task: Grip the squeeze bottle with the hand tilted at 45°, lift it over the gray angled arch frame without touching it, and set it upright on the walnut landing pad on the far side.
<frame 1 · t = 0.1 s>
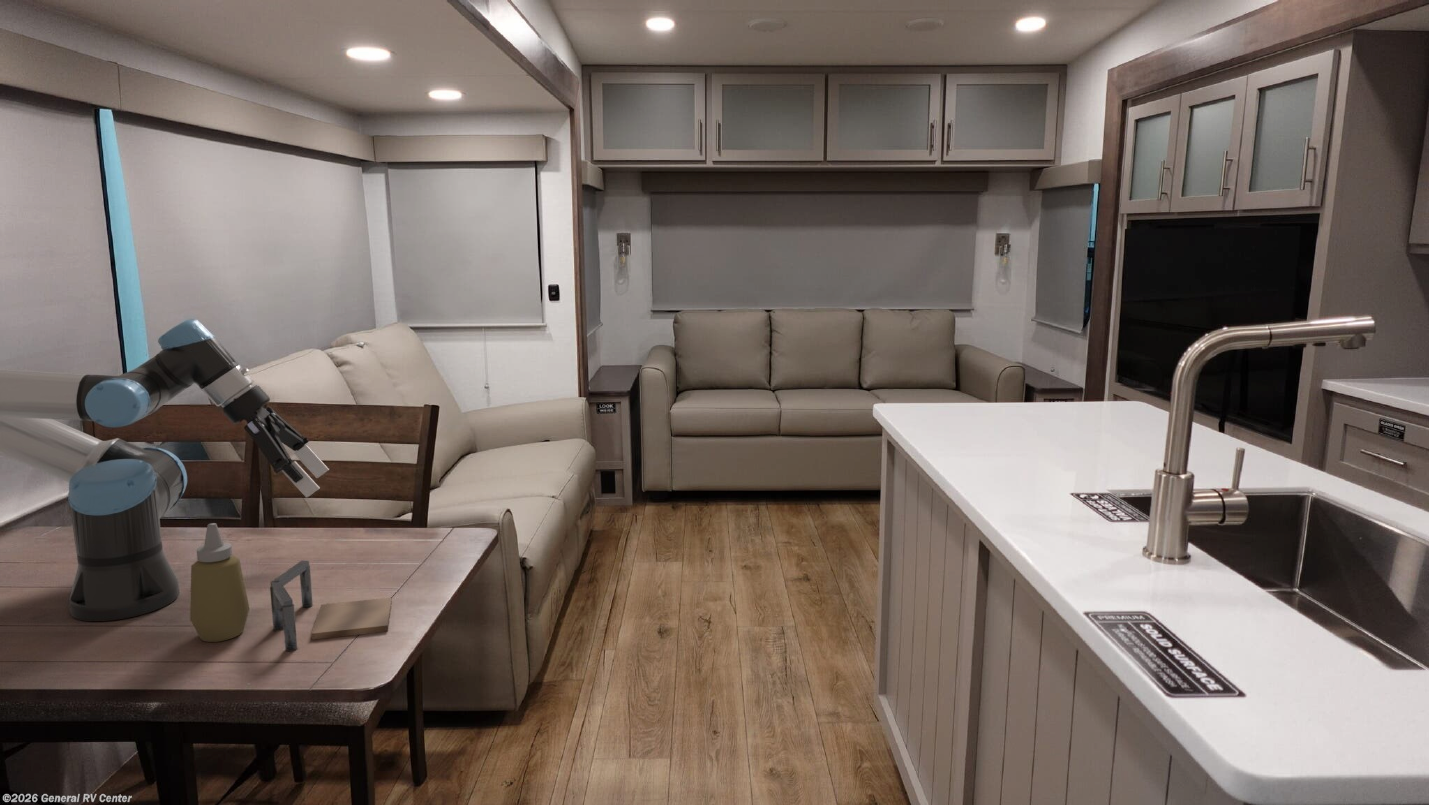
hand: (318, 483, 159), 15 cm above the table, tool tilted 35°, fingers open, 13 cm apart
landing pad: (353, 620, 136), on the table
squeeze bottle: (222, 635, 131), on the table
gray angled arch frame: (286, 627, 133), on the table
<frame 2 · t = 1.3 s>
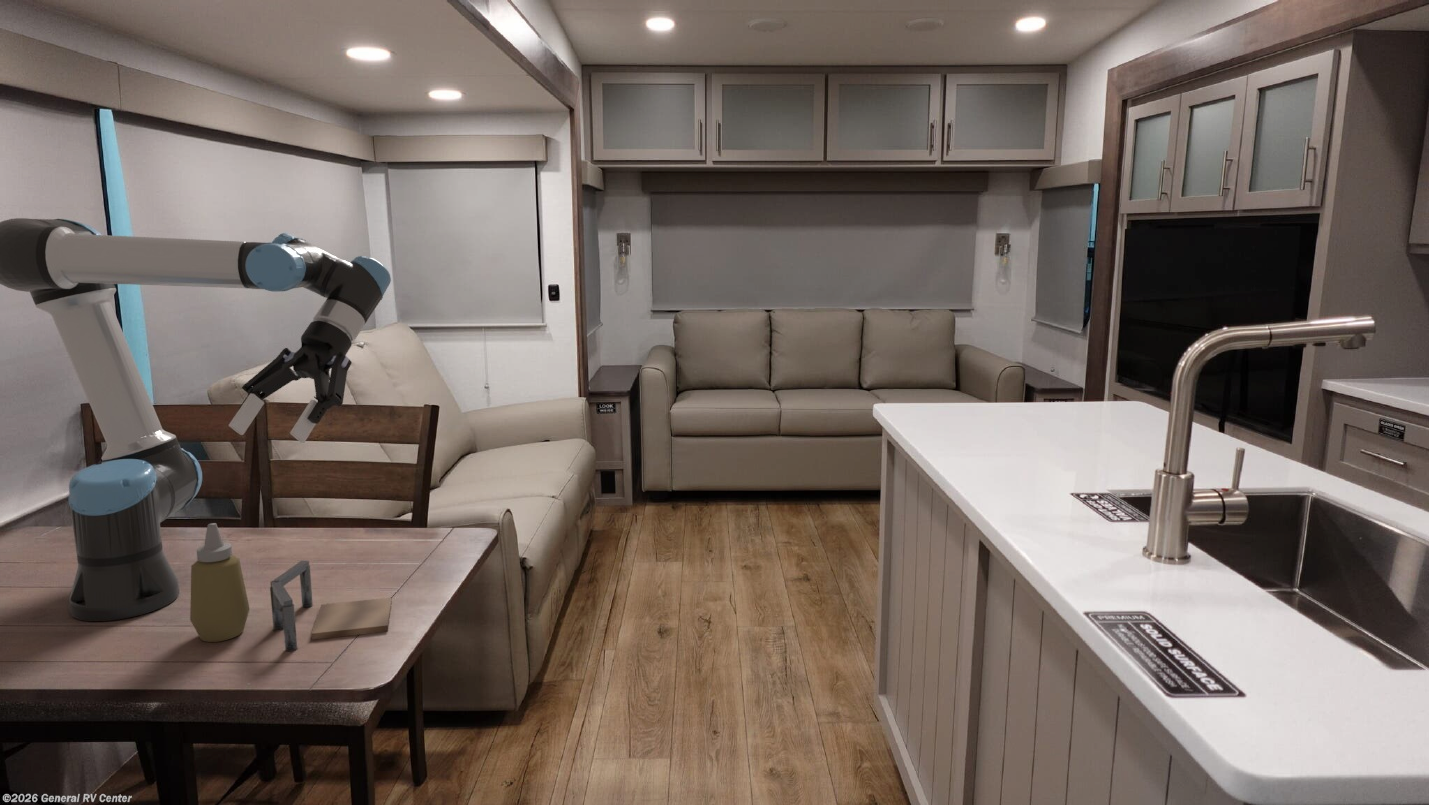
hand: (265, 434, 135), 30 cm above the table, tool tilted 45°, fingers open, 13 cm apart
nothing on the table moved.
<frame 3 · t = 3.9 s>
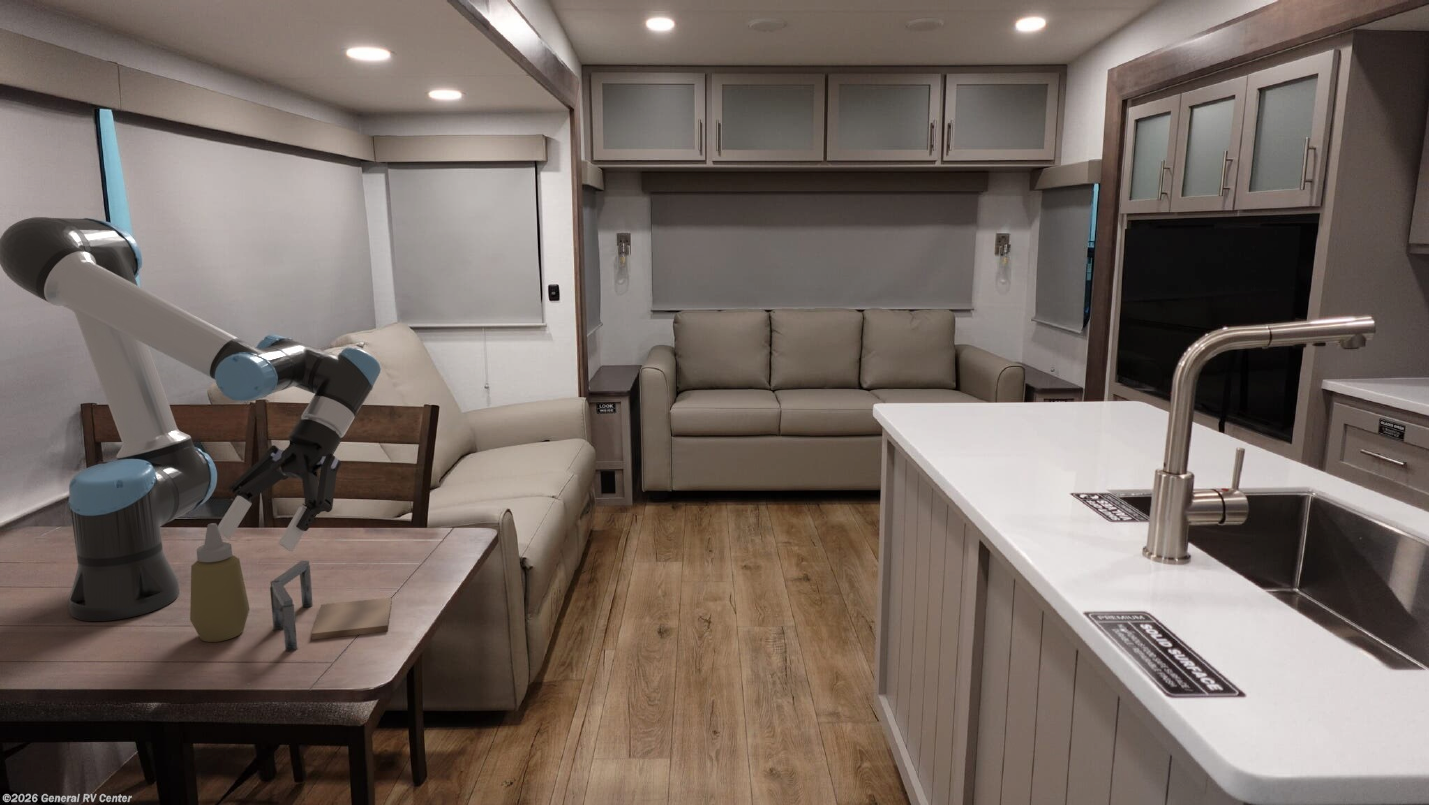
hand: (253, 541, 132), 14 cm above the table, tool tilted 45°, fingers open, 13 cm apart
nothing on the table moved.
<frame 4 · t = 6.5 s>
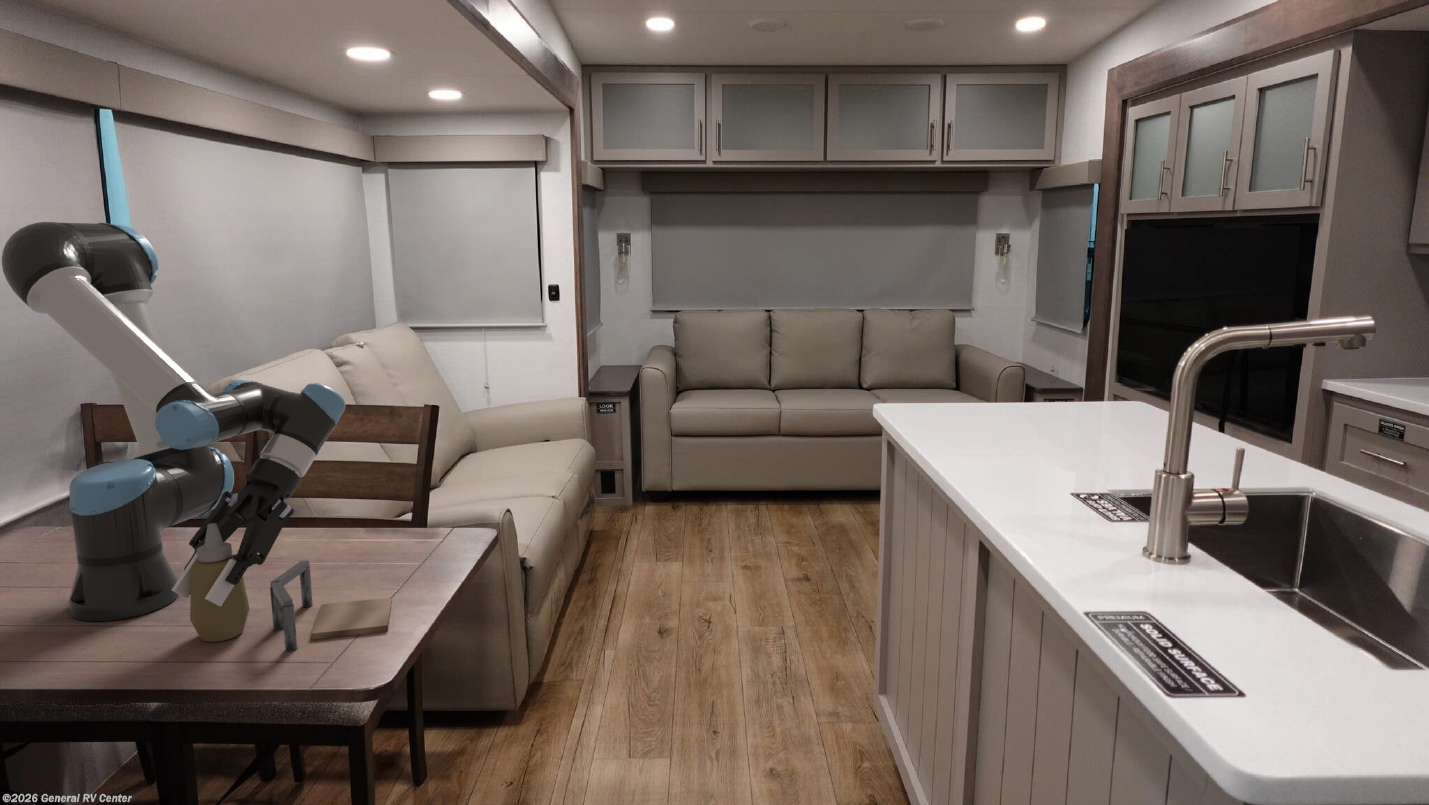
hand: (196, 598, 126), 7 cm above the table, tool tilted 45°, fingers closed on squeeze bottle, 6 cm apart
squeeze bottle: (222, 635, 131), on the table, touching gripper
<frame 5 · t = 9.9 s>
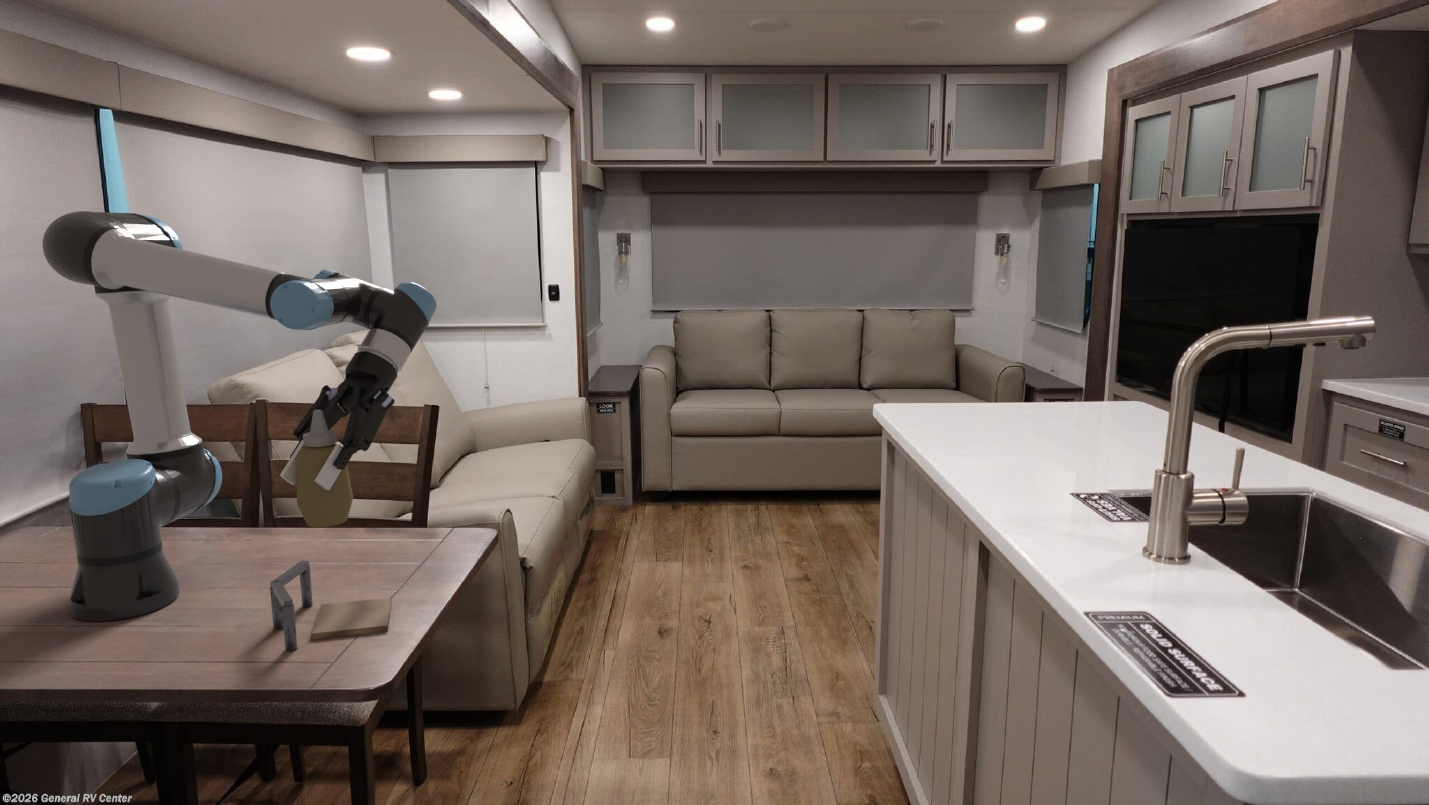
hand: (304, 482, 127), 25 cm above the table, tool tilted 45°, fingers closed on squeeze bottle, 6 cm apart
squeeze bottle: (327, 523, 132), point 17 cm above the table, touching gripper
when the fingers open (10 cm above the table, at t = 13.6 s): squeeze bottle drops 1 cm, resting on landing pad.
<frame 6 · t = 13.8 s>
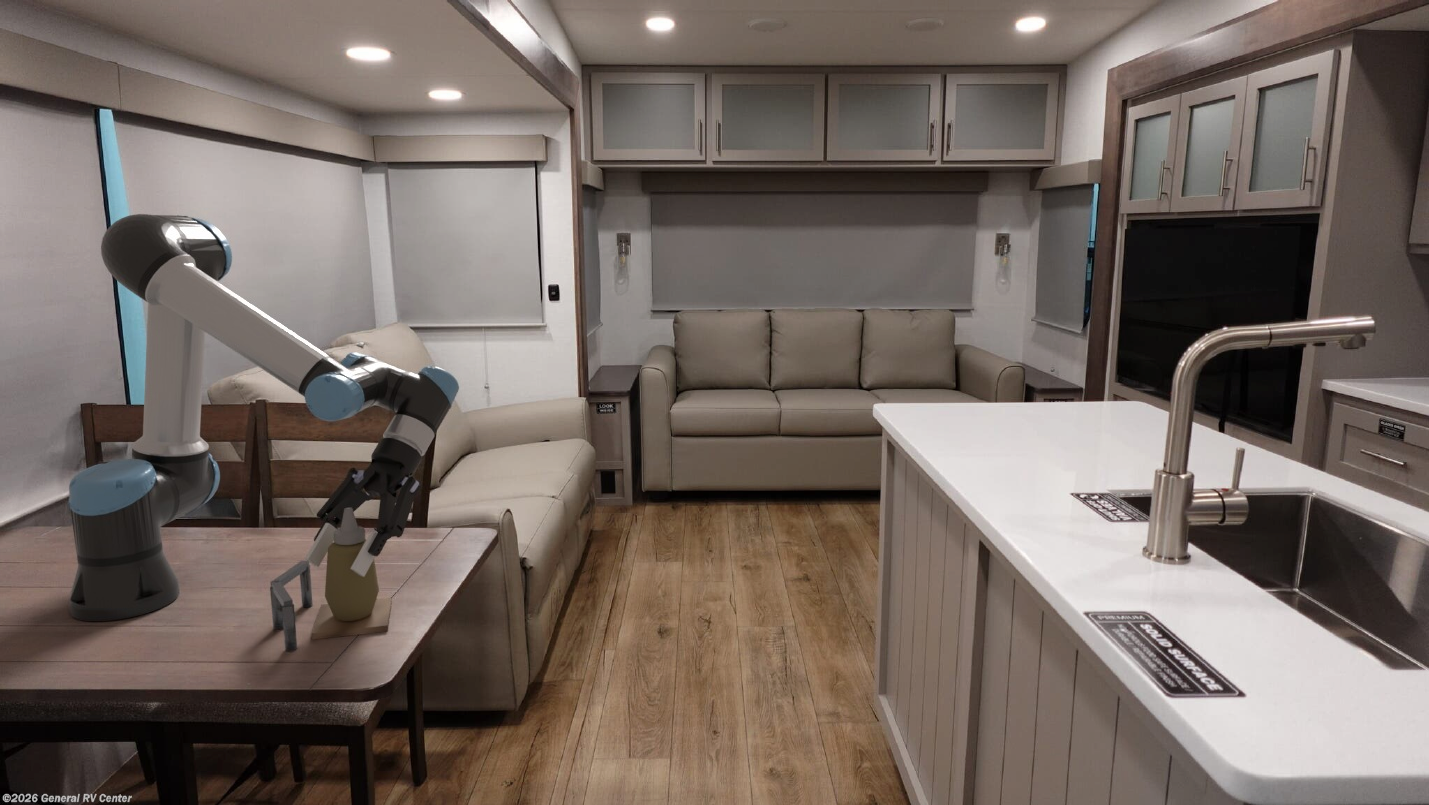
hand: (334, 567, 132), 10 cm above the table, tool tilted 45°, fingers open, 9 cm apart
squeeze bottle: (353, 615, 136), point 1 cm above the table, touching landing pad
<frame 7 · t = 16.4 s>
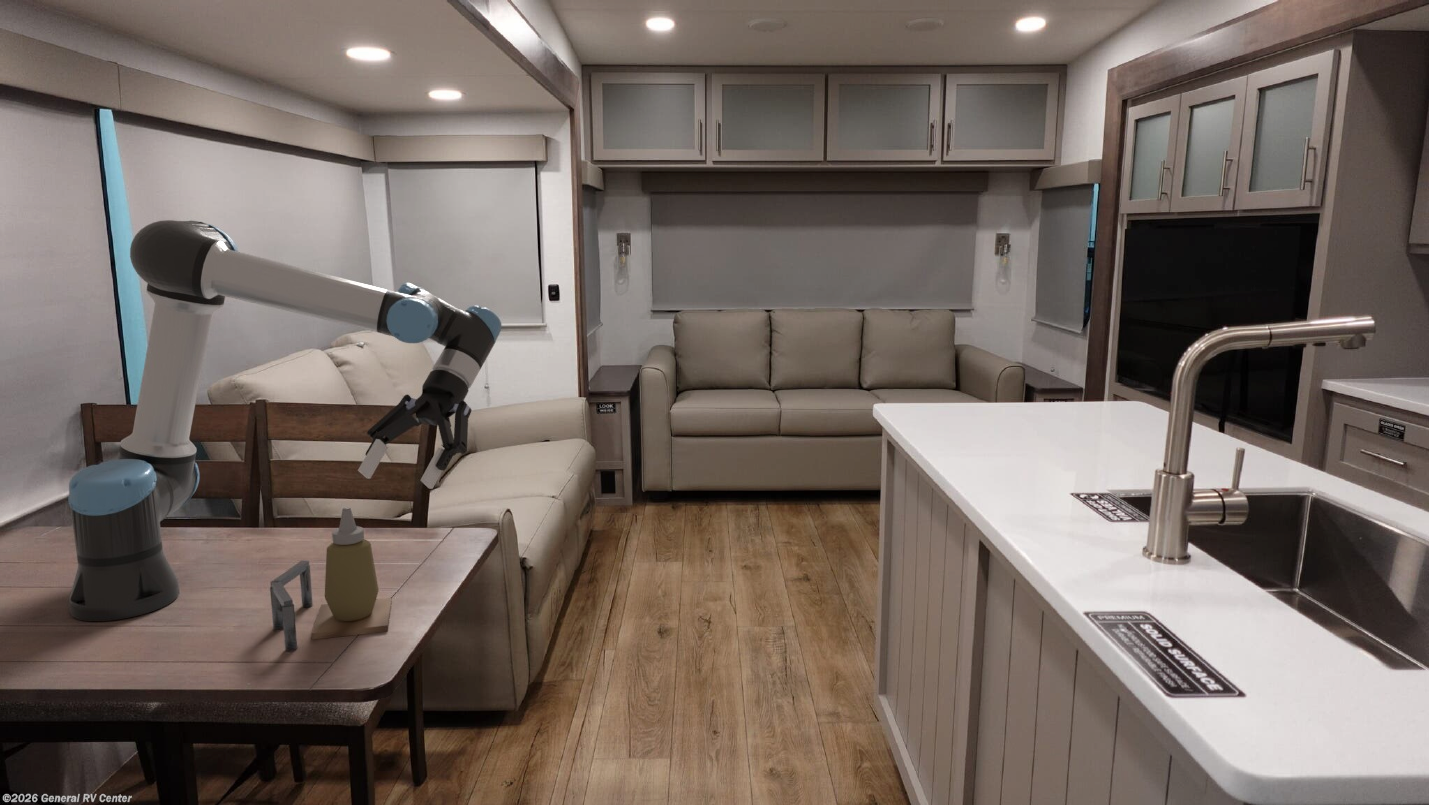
hand: (394, 479, 142), 21 cm above the table, tool tilted 45°, fingers open, 13 cm apart
nothing on the table moved.
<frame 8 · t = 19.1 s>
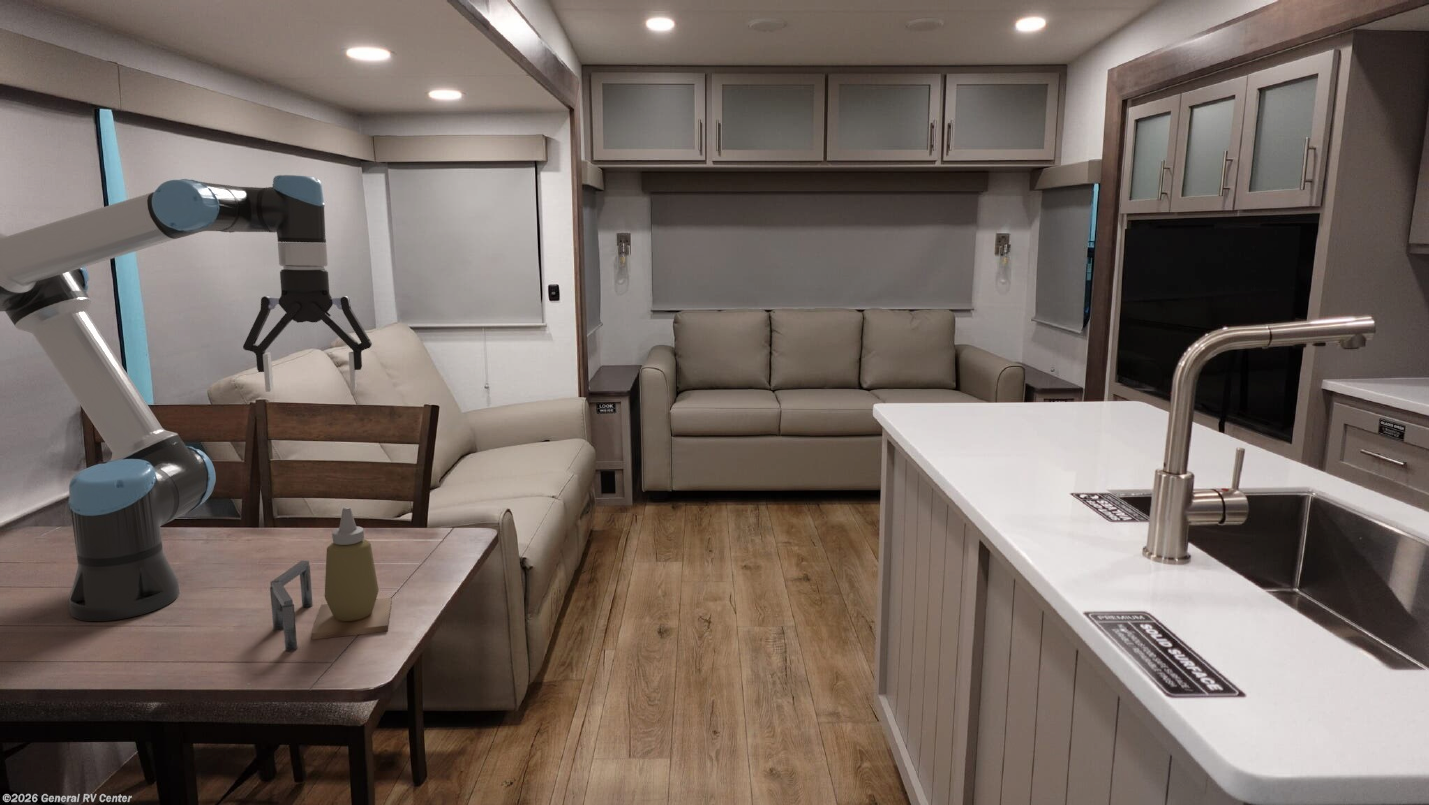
hand: (312, 389, 148), 35 cm above the table, tool pointing down, fingers open, 13 cm apart
nothing on the table moved.
at the end: squeeze bottle inside the target area on the landing pad (0.1 cm from its centre), point 0.8 cm above the landing pad's base; squeeze bottle tilted 0°; squeeze bottle touching landing pad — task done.
